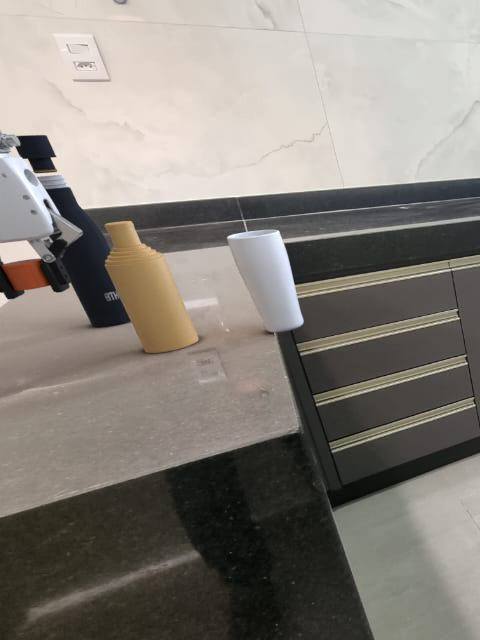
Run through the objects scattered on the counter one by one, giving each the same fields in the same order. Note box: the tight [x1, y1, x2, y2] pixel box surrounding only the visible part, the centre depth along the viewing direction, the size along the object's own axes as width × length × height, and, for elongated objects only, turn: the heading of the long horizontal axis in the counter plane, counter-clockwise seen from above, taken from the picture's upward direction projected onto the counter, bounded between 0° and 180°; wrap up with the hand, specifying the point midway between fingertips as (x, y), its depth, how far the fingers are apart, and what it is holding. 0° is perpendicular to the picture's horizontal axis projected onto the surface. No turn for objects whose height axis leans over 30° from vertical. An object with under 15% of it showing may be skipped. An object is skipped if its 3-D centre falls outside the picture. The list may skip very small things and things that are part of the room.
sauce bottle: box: [104, 220, 199, 354], centre depth 76 cm, size 6×6×18 cm
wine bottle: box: [14, 134, 131, 328], centre depth 86 cm, size 6×6×30 cm
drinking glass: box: [226, 229, 305, 334], centre depth 81 cm, size 7×7×15 cm
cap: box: [1, 257, 51, 291], centre depth 70 cm, size 4×4×3 cm
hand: (39, 292), depth 71 cm, fingers closed on cap, 3 cm apart
